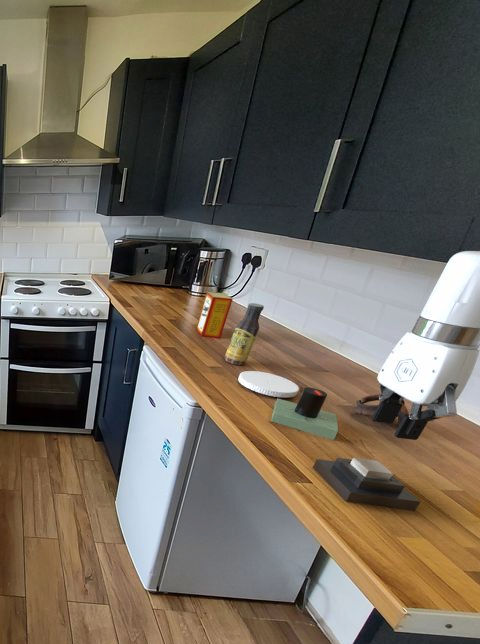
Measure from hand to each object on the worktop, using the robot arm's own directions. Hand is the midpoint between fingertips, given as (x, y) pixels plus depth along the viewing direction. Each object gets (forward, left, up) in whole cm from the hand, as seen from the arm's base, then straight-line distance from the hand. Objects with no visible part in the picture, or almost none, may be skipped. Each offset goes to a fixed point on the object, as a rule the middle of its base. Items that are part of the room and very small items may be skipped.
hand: (393, 428), depth 71 cm
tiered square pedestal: (0, 0, -13) cm, 13 cm away
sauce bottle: (+22, -59, -14) cm, 64 cm away
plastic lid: (+14, -41, -14) cm, 45 cm away
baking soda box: (+32, -88, -14) cm, 95 cm away
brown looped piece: (-10, -37, -14) cm, 41 cm away
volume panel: (+7, -24, -13) cm, 28 cm away
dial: (+7, -24, -11) cm, 27 cm away
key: (0, 0, -10) cm, 10 cm away
